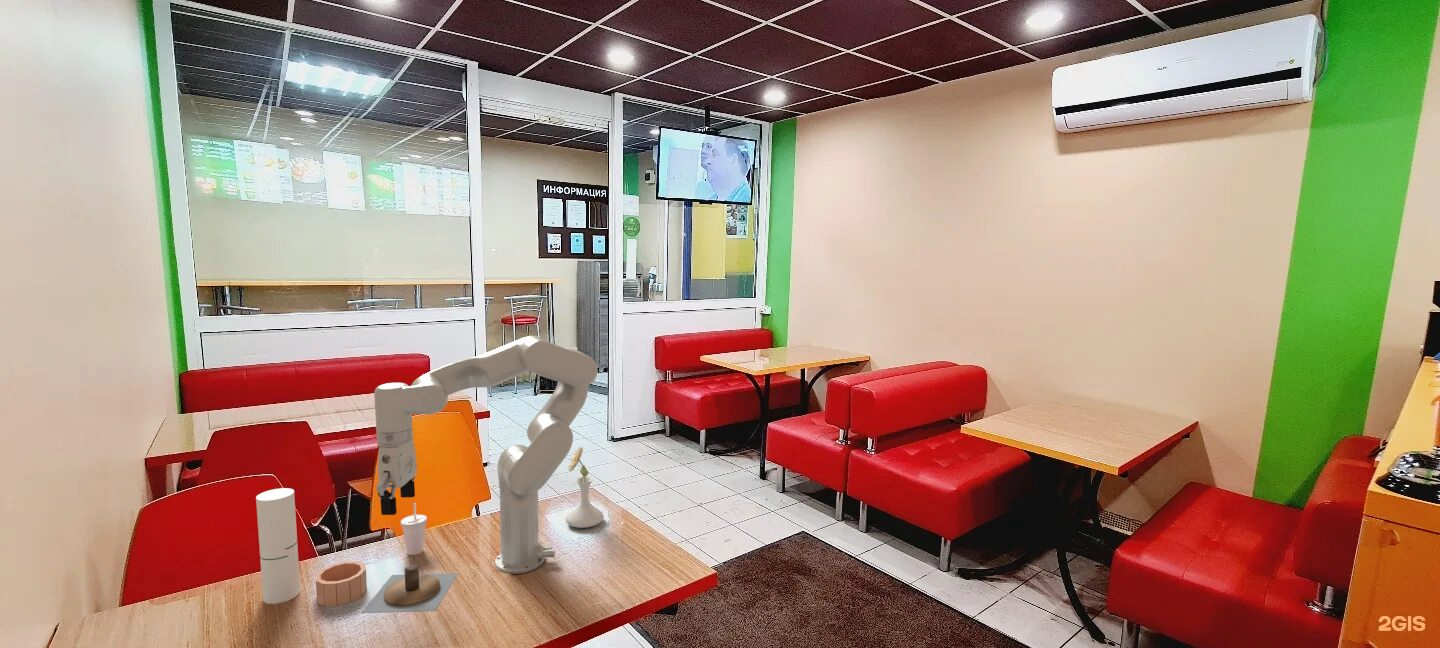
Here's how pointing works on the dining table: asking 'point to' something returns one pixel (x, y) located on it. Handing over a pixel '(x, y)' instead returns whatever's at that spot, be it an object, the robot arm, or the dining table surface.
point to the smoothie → (414, 532)
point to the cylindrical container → (278, 545)
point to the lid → (411, 588)
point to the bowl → (341, 583)
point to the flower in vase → (583, 499)
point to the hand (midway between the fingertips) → (398, 505)
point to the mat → (429, 605)
